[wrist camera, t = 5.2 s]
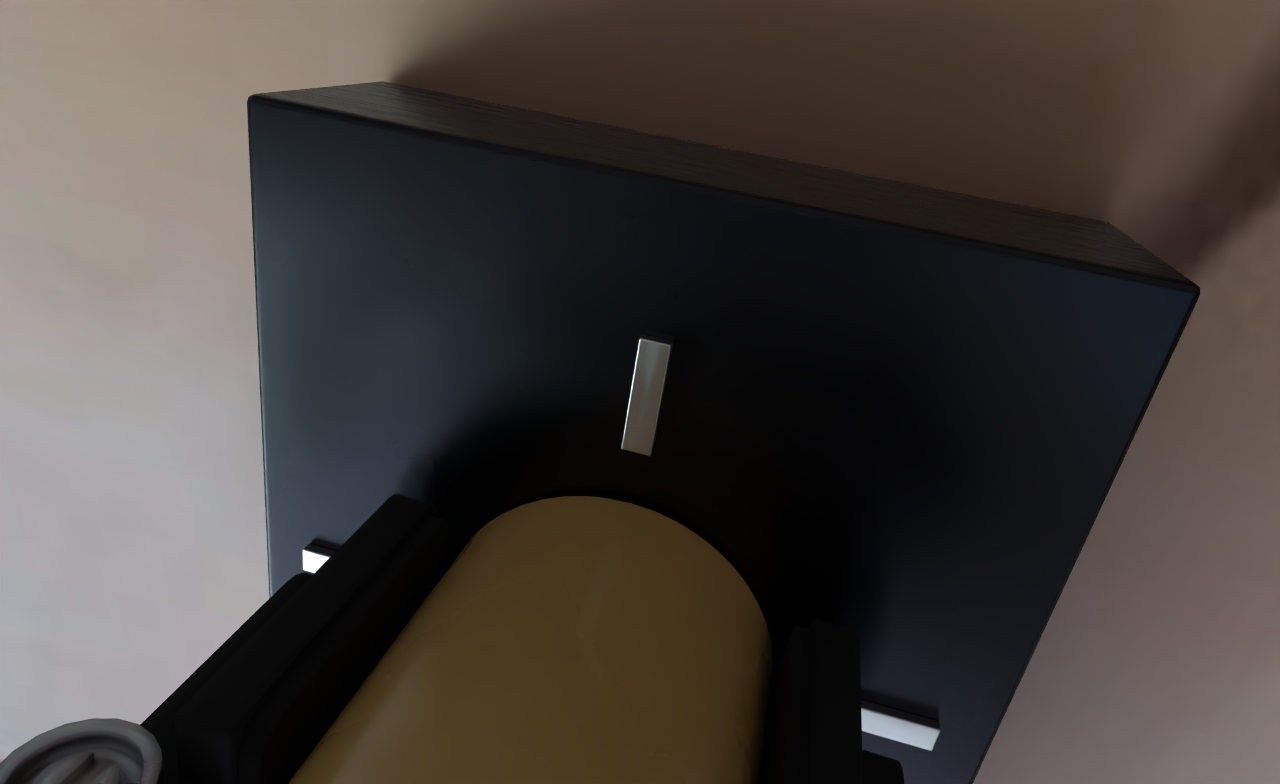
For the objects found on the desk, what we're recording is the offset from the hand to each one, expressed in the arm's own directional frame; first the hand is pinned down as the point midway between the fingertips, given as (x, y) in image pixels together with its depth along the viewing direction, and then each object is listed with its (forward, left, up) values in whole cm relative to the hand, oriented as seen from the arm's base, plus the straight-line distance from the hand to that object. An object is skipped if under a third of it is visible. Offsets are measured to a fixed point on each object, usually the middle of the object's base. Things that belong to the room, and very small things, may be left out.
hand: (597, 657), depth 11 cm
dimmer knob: (0, 0, 0) cm, 0 cm away
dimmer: (0, 0, -3) cm, 3 cm away
